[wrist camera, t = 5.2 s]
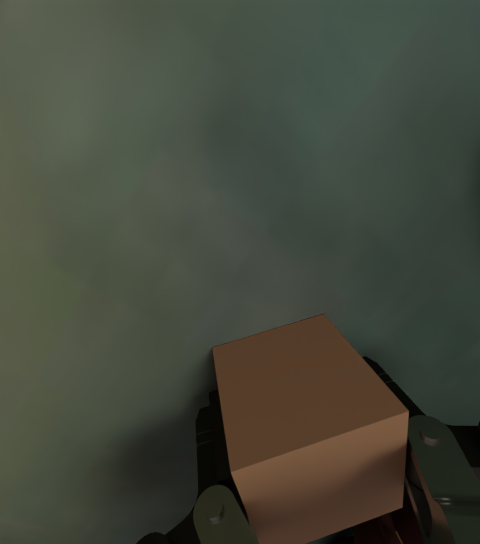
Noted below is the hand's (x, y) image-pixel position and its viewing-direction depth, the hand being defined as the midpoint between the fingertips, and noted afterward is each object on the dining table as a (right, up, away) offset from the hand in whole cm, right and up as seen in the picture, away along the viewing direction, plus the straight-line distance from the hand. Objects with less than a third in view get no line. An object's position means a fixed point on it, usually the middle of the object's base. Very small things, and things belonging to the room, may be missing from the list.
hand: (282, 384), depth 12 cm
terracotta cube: (0, 0, +1) cm, 1 cm away
